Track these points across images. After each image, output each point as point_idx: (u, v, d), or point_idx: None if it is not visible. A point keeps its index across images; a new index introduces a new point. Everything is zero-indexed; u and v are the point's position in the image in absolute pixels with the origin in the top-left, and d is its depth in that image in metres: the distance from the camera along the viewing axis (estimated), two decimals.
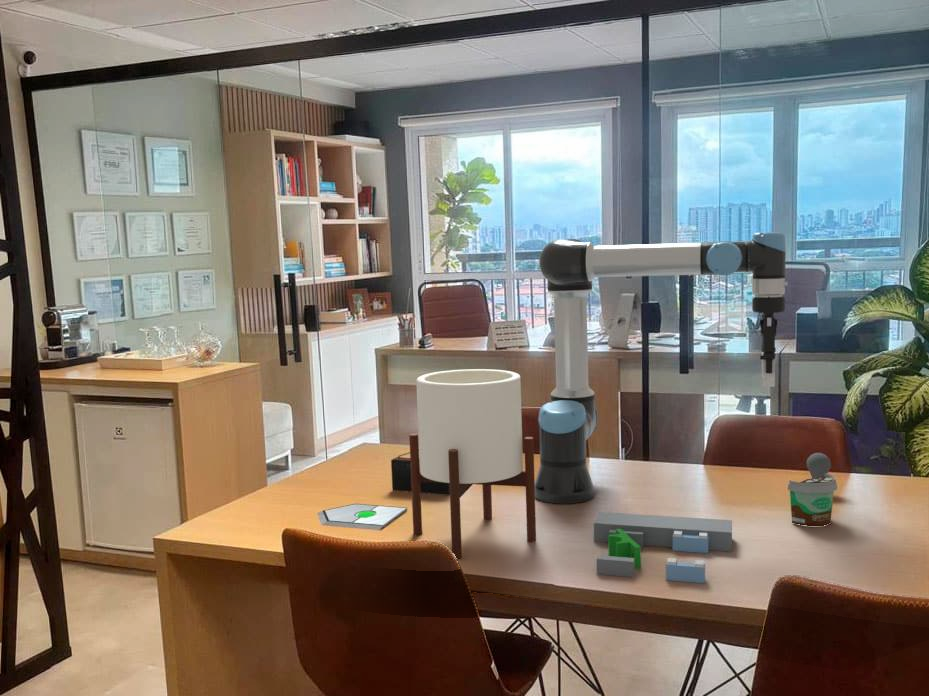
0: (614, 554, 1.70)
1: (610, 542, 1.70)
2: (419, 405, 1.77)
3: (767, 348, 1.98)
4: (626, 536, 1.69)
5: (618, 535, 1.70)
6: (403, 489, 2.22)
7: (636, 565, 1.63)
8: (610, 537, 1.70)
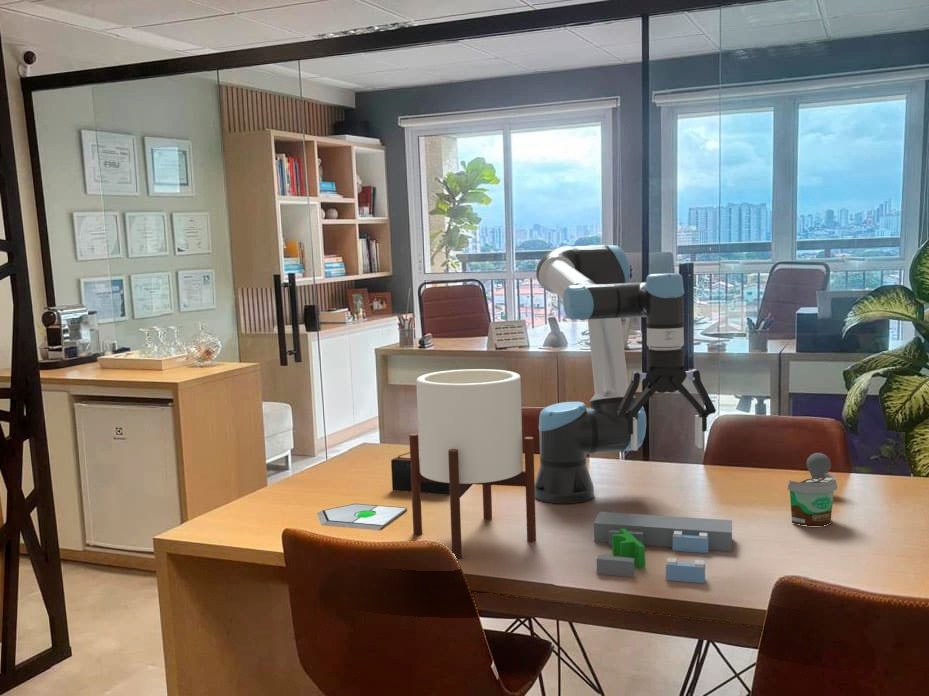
0: (618, 554, 1.70)
1: (614, 542, 1.70)
2: (419, 405, 1.77)
3: (620, 405, 1.76)
4: (630, 536, 1.69)
5: (622, 535, 1.70)
6: (403, 489, 2.22)
7: (640, 565, 1.63)
8: (614, 537, 1.70)
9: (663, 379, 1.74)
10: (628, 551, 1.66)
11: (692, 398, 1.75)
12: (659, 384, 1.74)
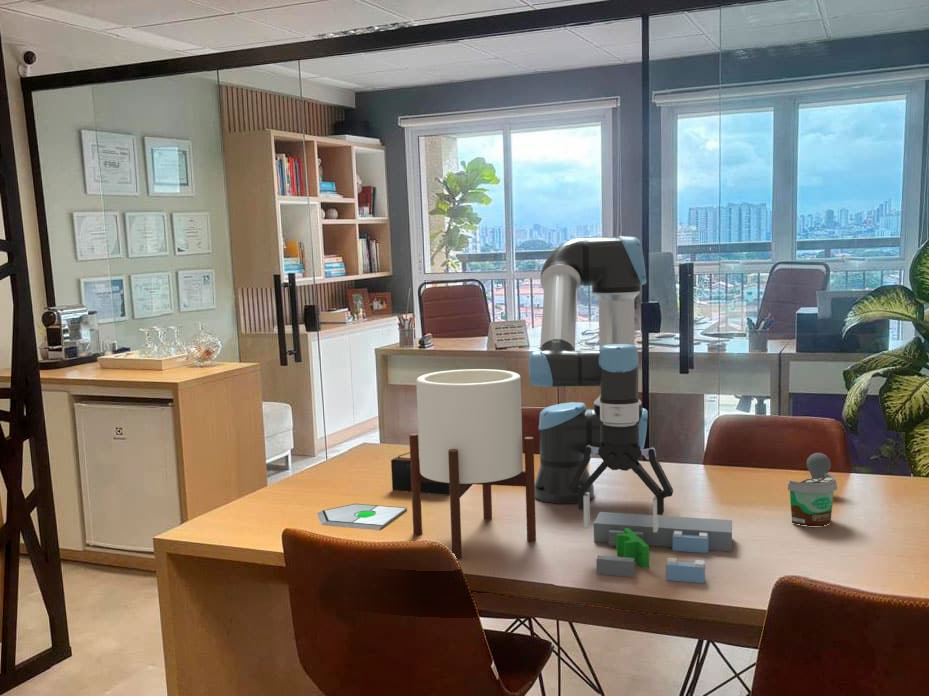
0: (622, 553, 1.70)
1: (618, 541, 1.70)
2: (419, 405, 1.77)
3: None
4: (634, 535, 1.69)
5: (626, 534, 1.70)
6: (403, 489, 2.22)
7: (644, 564, 1.63)
8: (618, 536, 1.70)
9: (613, 456, 1.65)
10: (632, 551, 1.66)
11: (646, 478, 1.64)
12: (609, 461, 1.65)
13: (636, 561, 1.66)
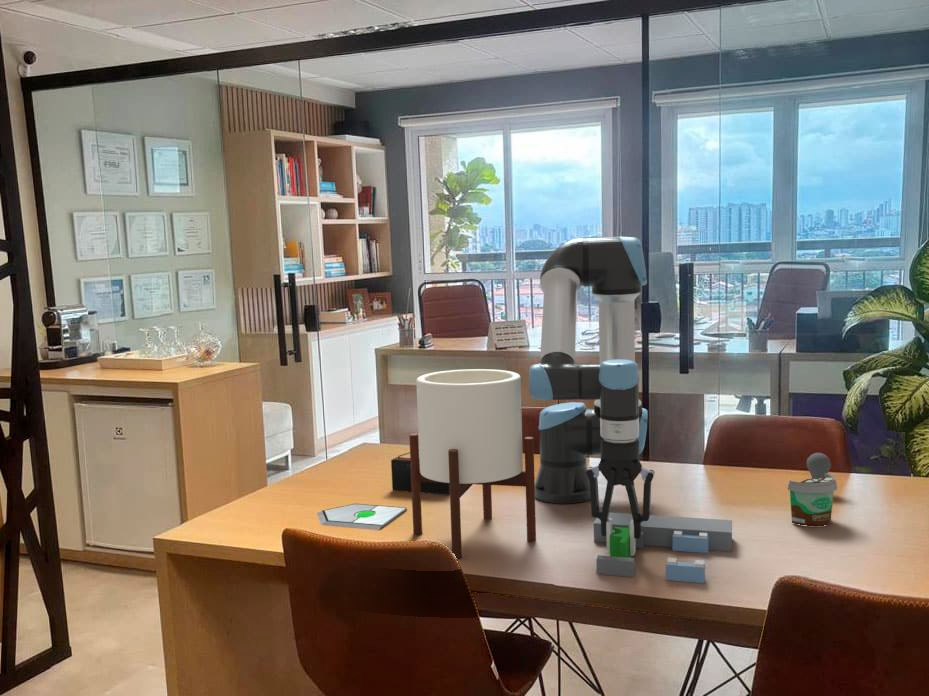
0: None
1: (615, 534, 1.72)
2: (419, 405, 1.77)
3: None
4: (629, 531, 1.69)
5: (623, 529, 1.71)
6: (403, 489, 2.22)
7: None
8: (615, 529, 1.71)
9: (613, 471, 1.65)
10: (617, 545, 1.67)
11: (633, 500, 1.66)
12: (612, 477, 1.66)
13: None
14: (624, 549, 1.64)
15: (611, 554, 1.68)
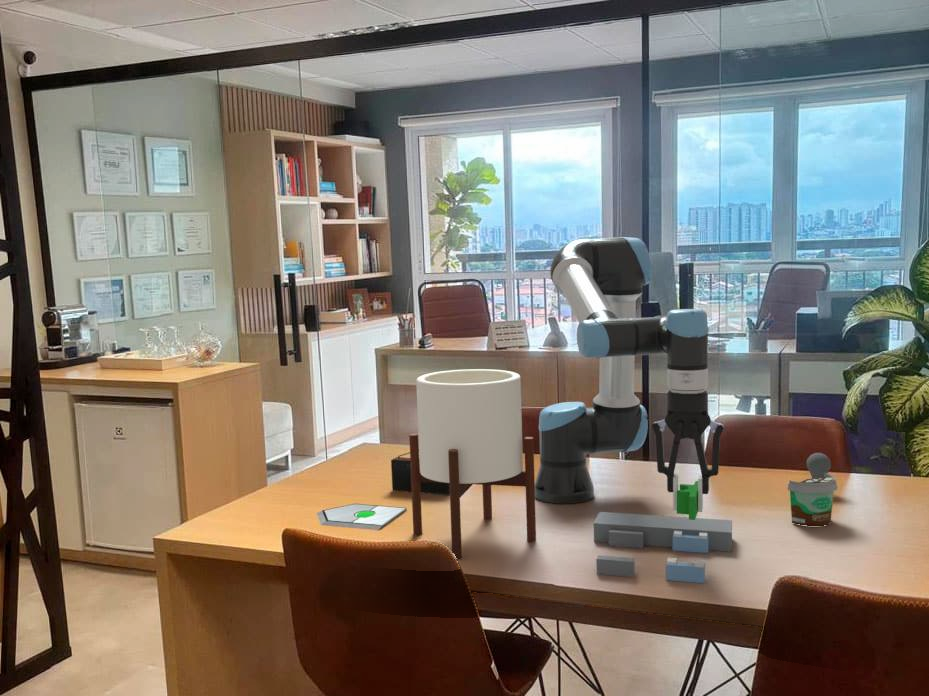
0: None
1: None
2: (419, 405, 1.77)
3: None
4: (695, 487, 1.64)
5: (689, 485, 1.65)
6: (403, 489, 2.22)
7: (689, 515, 1.58)
8: (680, 486, 1.66)
9: (681, 423, 1.60)
10: (684, 501, 1.61)
11: (702, 453, 1.60)
12: (680, 430, 1.60)
13: (688, 512, 1.61)
14: (693, 504, 1.58)
15: (678, 511, 1.62)
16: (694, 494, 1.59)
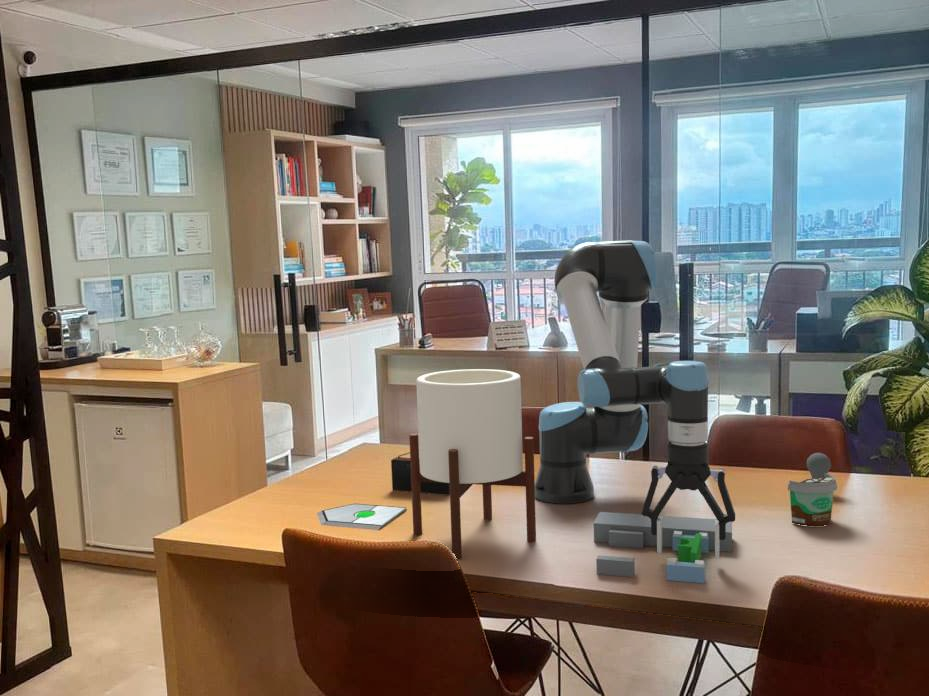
0: None
1: (681, 544, 1.67)
2: (419, 405, 1.77)
3: None
4: (696, 541, 1.65)
5: (690, 539, 1.66)
6: (403, 489, 2.22)
7: None
8: (681, 539, 1.67)
9: (682, 475, 1.61)
10: (685, 555, 1.63)
11: (711, 501, 1.61)
12: (678, 481, 1.61)
13: None
14: (695, 559, 1.59)
15: None
16: (695, 549, 1.60)
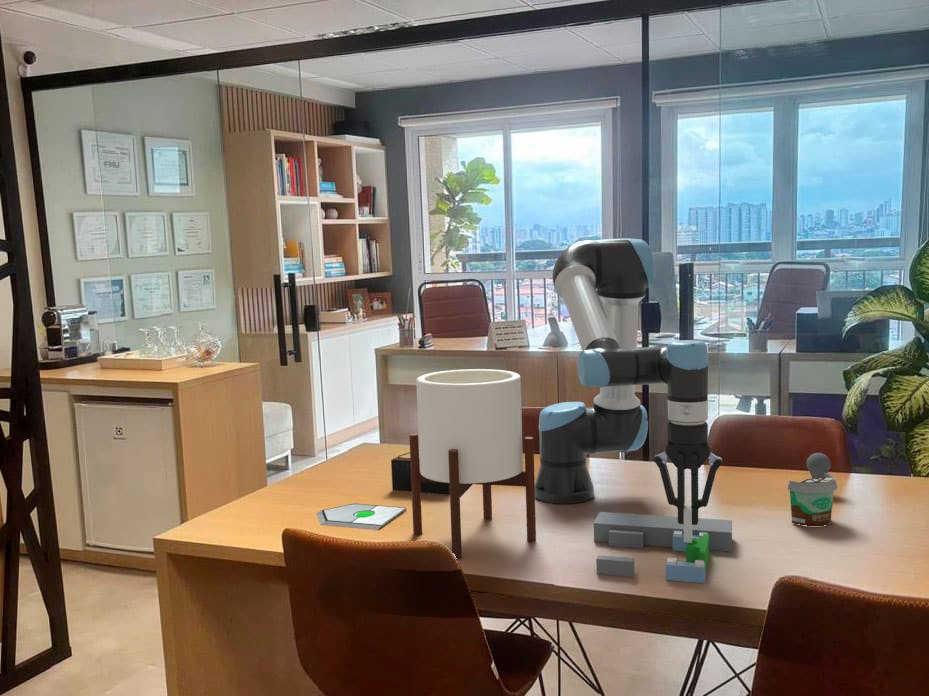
0: None
1: (689, 545, 1.67)
2: (419, 405, 1.77)
3: None
4: (704, 541, 1.64)
5: (698, 539, 1.66)
6: (403, 489, 2.22)
7: None
8: None
9: (681, 454, 1.61)
10: (694, 556, 1.62)
11: (695, 485, 1.61)
12: (681, 461, 1.61)
13: None
14: (703, 560, 1.59)
15: None
16: (704, 550, 1.60)
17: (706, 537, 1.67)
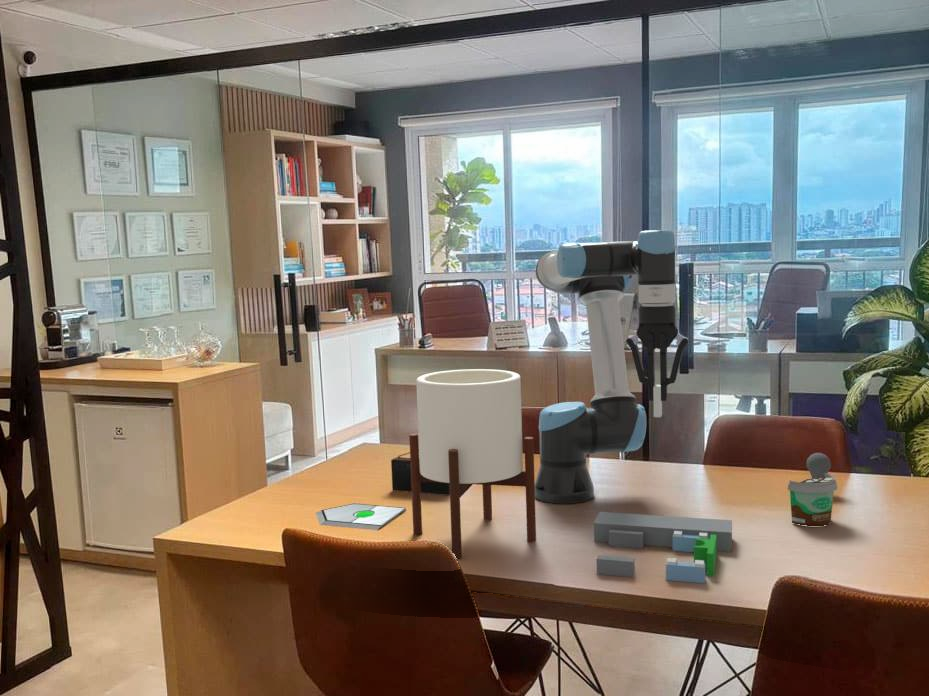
0: None
1: (696, 546, 1.66)
2: (419, 405, 1.77)
3: None
4: (712, 542, 1.64)
5: (705, 540, 1.65)
6: (403, 489, 2.22)
7: (708, 572, 1.59)
8: (696, 540, 1.66)
9: (651, 334, 1.75)
10: (701, 556, 1.62)
11: (664, 363, 1.75)
12: (651, 341, 1.75)
13: (706, 568, 1.62)
14: (712, 561, 1.58)
15: None
16: (712, 550, 1.59)
17: (714, 538, 1.66)
